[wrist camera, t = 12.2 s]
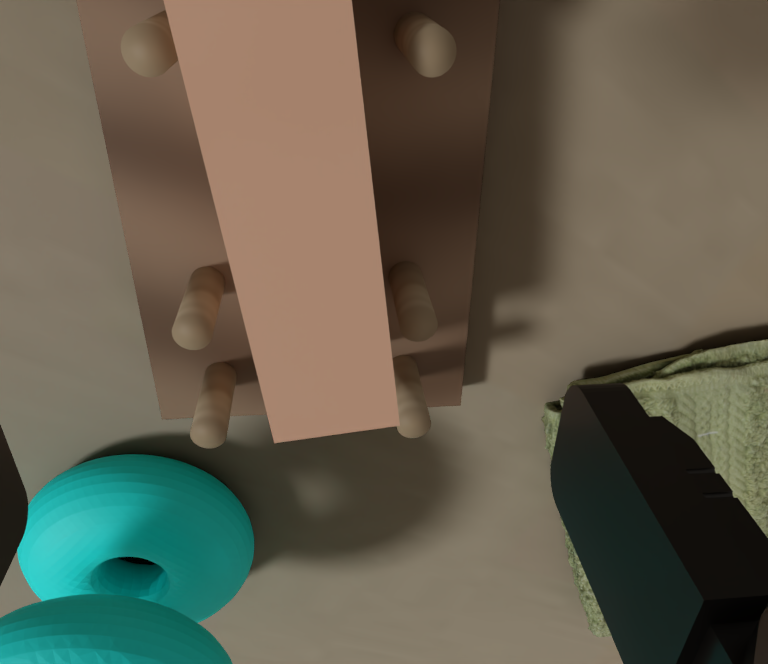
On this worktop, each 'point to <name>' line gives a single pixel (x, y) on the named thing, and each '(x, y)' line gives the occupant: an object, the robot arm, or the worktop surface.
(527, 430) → the worktop surface
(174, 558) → the donuts
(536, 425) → the worktop surface
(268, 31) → the pinkish tan rectangular block
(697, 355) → the washcloth
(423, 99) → the drying rack
